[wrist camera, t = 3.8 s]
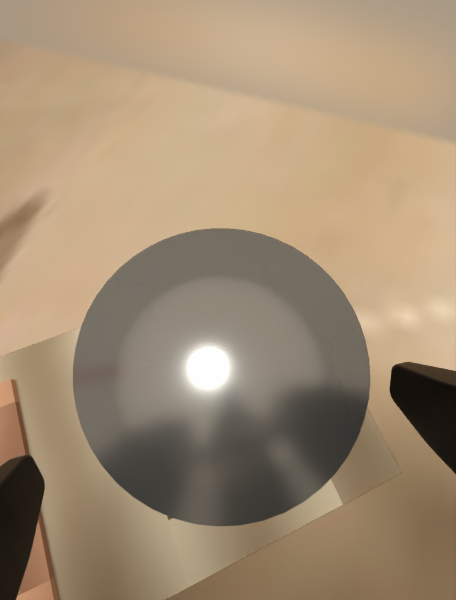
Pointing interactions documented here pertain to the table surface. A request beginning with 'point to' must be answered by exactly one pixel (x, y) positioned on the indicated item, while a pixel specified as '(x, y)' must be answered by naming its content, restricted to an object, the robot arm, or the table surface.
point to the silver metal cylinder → (221, 377)
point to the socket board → (130, 497)
